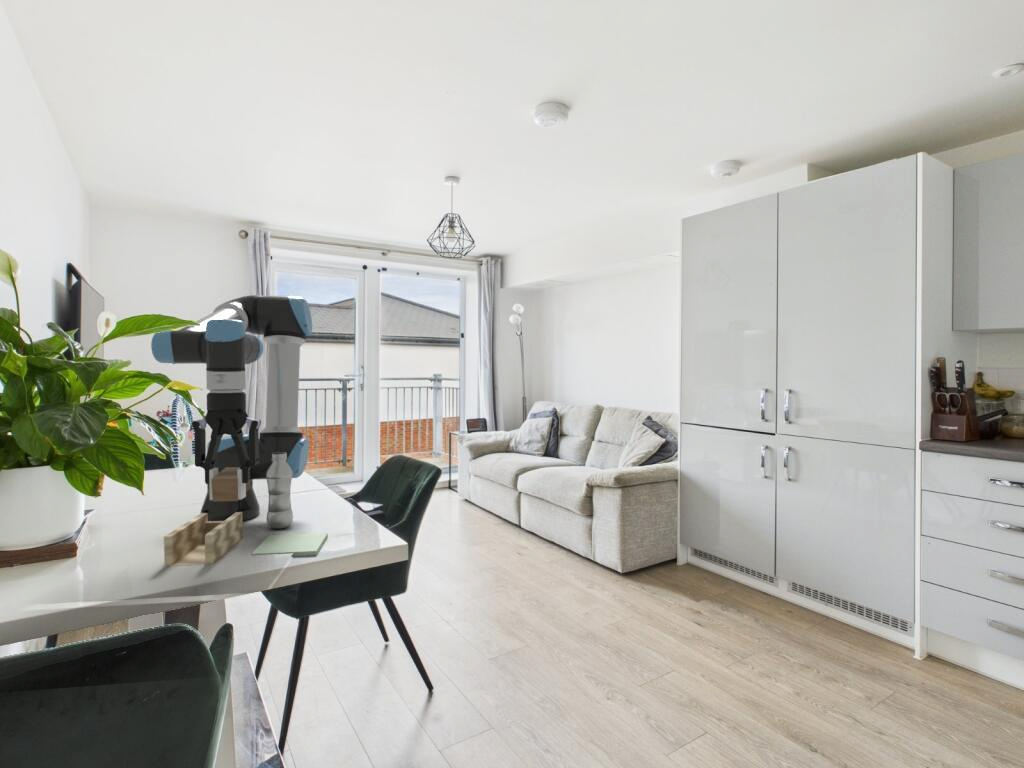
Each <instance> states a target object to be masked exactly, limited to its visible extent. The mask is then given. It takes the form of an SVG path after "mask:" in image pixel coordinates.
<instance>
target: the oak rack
mask: <svg viewBox="0 0 1024 768" xmlns="http://www.w3.org/2000/svg"><path fill="white" fill-rule="evenodd" d="M243 534H244V532H243V520H242V512H236V513H234V514H233V515H232V516H230V517H229V518H228V519H226V520H225V521H208V513H202V514H200V513H199V514H197V515H196V516H194V517H193V518H192V519H190V520H189V521H187V522H185V523H184V524H181V526H179V527H178V528H176V529H174V530H173V531H171V532H169V533H168V534H166V535H165V536H163V546H164V547H163V553H164V555H163V556H164V560H163V561H164V562H163V564H164V565H163V566H164V567H177V566H180V567H181V566H199V565H200V566H201V565H213V564H215V562H217V561H218V560H219V559H220V558H221V557H223V556H224V554H226V553H227V552H228V551H229V550H230V549H231V548H233V546H235V545H236V544H237V543H239V541H240V540H242V539H243Z"/></svg>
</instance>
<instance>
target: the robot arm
mask: <svg viewBox="0 0 1024 768" xmlns="http://www.w3.org/2000/svg"><path fill="white" fill-rule="evenodd" d="M194 322H195V323H198V324H200V326H193V325H191V326H188V325H186V326H185V327H182V328H180V329H178V330H171V329H168V331H167V330H163V331H164V332H160V333H156V332H155V333H154V334H153V335H152V338H151V345H150V347H151V348H150V349H151V353H152V356H153V357H154V359H155V360H156V362H158V363H161V364H172V365H175V364H179V365H180V364H205V365H206V368H205V371H206V374H205V375H206V390H207V391H209V392H208V393H207V394H206V410H207V412H206V415H205V417H204V418H202V419H196V420H193V421H192V422H191V425H192V429H193V430H194V466H195V467H196V468H197V467H198V468H202V469H203V470H204V483H205V484H206V486H207V487H206V488H207V490H206V491H207V492H206V494H205V498H204V500H203V503H202V506H201V510H200V513H199V514H202V513H208V521H225V520H226V519H228V518H229V517H230V516H232V515H233V514H234V513H236V512H242V521H246V520H251V519H253V518H255V517H257V516H259V515H260V513H261V512H260V504H259V501H258V498H257V495H256V493H255V490H254V480H267V478H266V473H267V470H268V468H269V467H270V465H271V464H272V462H273V461H272V460H271V459H272V453H277V452H286V453H287V460H286V462H287V464H288V465H289V466H290V468H291V470H292V479H297V478H299V477H301V476H302V474H303V473H304V471H305V470H306V469H305V468H306V466H307V462H308V458H309V453H310V452H309V450H310V447H309V443H310V441H309V440H308V438H306V437H303V433H304V432H303V431H302V429H301V428H299V426H298V419H299V418H298V416H299V390H300V388H299V386H300V385H299V384H300V363H301V362H300V359H301V358H300V356H301V347H302V346H303V344H305V343H306V338H307V337H309V336H311V335H312V333H313V323H312V322H313V321H312V314H311V310H310V307H309V303H308V302H307V299H305V298H304V297H302V296H296V295H295V296H294V295H293V296H292V295H257V294H251V295H245V296H241V297H237V298H233V299H230V300H228V301H225V302H223V303H221V304H219V305H217V306H216V307H215V308H214V309H213V311H212V312H211V313H210V314H207V315H206V316H204V317H202V318H200V319H198V320H195V321H194ZM258 335H262V336H263V341H264V342H265V343H267V345H268V357H267V358H268V359H267V360H268V362H267V363H268V364H267V384H266V385H267V387H266V412H265V427H264V428H263V429H261V430H260V431H259V429H260V427H261V425H262V424H261V423H262V421H261V419H254V418H251V417H249V415H248V413H247V396H246V395H247V394H246V392H244V391H243V390H246V387H247V385H246V384H247V382H246V380H247V379H246V378H247V377H246V365H250V364H253V363H255V362H257V361H258V360H259V359H260V358H261V357H262V355H263V353H264V345H263V341H262V340H261V339H260V337H259V336H258ZM246 424H247V428H248V433H243V428H244V426H245V425H246ZM207 426H209V428H210V429H211V433H210V434H211V435H210V440H209V441H208V443H207V442H206V437H207V436H206V434H207V433H206V428H207ZM224 435H227V436H224ZM206 443H207V444H206ZM206 445H207V446H206ZM226 467H240V469H238V470H237V480H238V501H215V502H213V496H212V482H211V479H212V478H214V477H215V476H216V475H217V474H218V473H220V472H221V471H222V470H223V469H225V468H226ZM249 481H250V489H249V490H248V491H247V492H246V483H248V482H249Z"/></svg>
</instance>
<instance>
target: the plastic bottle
mask: <svg viewBox="0 0 1024 768" xmlns="http://www.w3.org/2000/svg"><path fill="white" fill-rule="evenodd" d="M271 460H272V461H273V462H272V464H271V465H270V467H269V468H268V470H267V473H266V478H267V479H266V482H267V488H268V489H267V492H268V505H267V507H268V508H267V514H266V524H267V526H268V527H269V528H270V529H276V530H277V529H279V530H280V529H285V528H288V527H290V526H291V525H292V524H293V520H294V514H293V509H292V500H291V491H292V489H291V488H292V479H293V478H292V470H291V468H290V466H289V465H288V464H287V462H286V460H287V453H286V452H277V453H272V459H271Z"/></svg>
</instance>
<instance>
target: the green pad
mask: <svg viewBox="0 0 1024 768" xmlns="http://www.w3.org/2000/svg"><path fill="white" fill-rule="evenodd" d="M328 537H329V534H328V532H322V533H321V532H318V533H294V534H271V535H270V534H269V535H268V536H267V537H266V538H265V539H264V540H263V541H262V542H261V543H260V544H259V545H258V546H257V547H256V548H255V549H254V551H252V553H251V556H253V555H254V556H256V555H257V556H258V555H279V554H291V557H307V556H308V555H309V556H308V557H310V556H317V555H318V553H320V551H321V549H322V547H323V546H322V545H324V544H325V542H326V541H327V539H328ZM325 540H326V541H325Z"/></svg>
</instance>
